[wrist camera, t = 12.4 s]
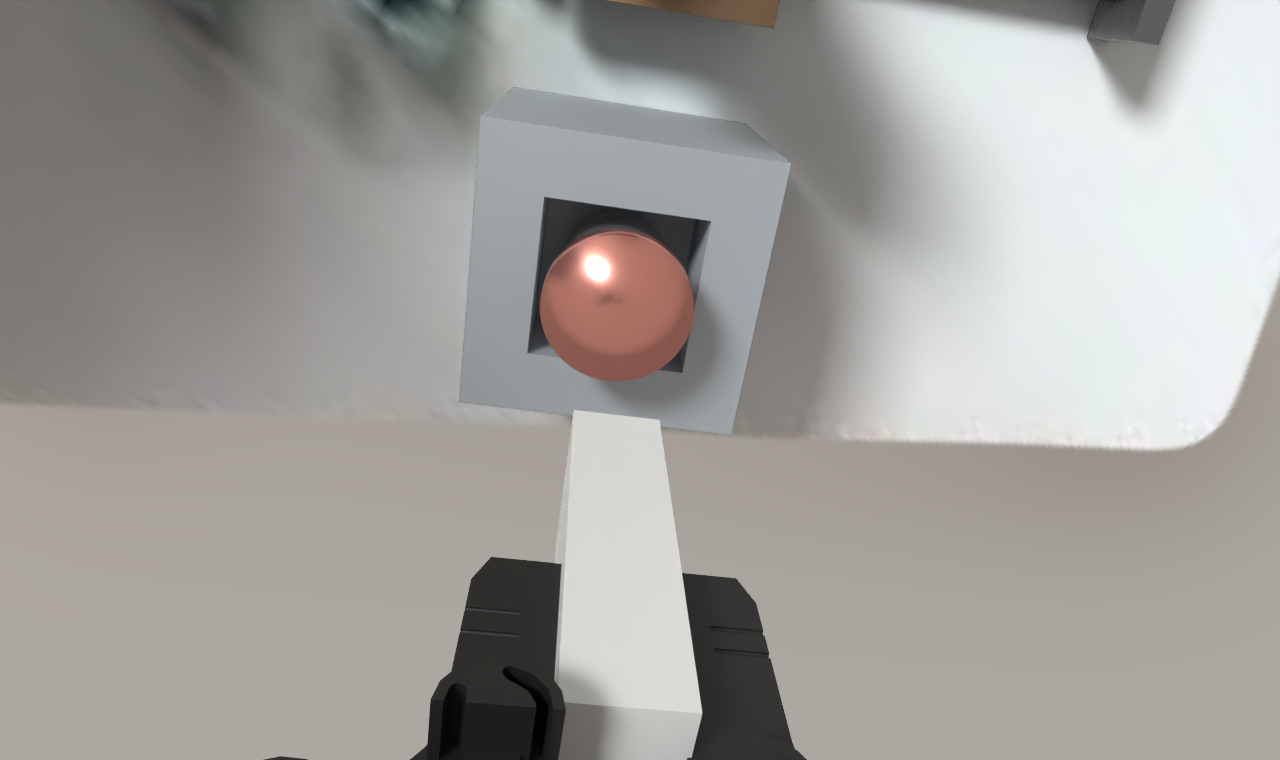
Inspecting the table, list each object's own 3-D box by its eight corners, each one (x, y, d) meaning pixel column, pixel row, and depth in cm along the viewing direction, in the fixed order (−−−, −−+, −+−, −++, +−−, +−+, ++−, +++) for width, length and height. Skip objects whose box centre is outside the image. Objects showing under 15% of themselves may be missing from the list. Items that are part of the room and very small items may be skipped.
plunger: (543, 315, 29) (532, 371, 25) (558, 189, 27) (548, 224, 23) (669, 332, 30) (679, 390, 25) (691, 208, 28) (706, 247, 23)
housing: (493, 309, 35) (459, 402, 27) (513, 86, 32) (480, 116, 24) (703, 337, 36) (731, 435, 28) (745, 123, 33) (791, 163, 24)
